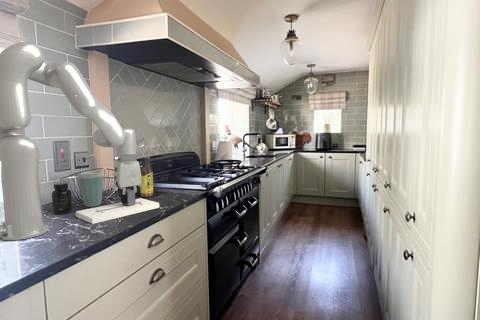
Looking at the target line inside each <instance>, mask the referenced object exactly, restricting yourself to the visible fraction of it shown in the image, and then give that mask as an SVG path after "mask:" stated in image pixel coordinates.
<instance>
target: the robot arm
mask: <svg viewBox="0 0 480 320" xmlns="http://www.w3.org/2000/svg"><path fill="white" fill-rule="evenodd" d="M29 80H30V81H33V82H35V83H39V84H41V85H44V86H47V87H51V88H54V89H55V88H56V89H60V91H61V92H62V93H63V95H64V96H65V98H66V100H67V101H68V103H69V104H70V105H71V107H72V109H73V110H74V111H75V112H77V113H78V114H79V115H81V116H83V117H85V118H87V119H88V120H90V122H92V123H93V124H94V125H95V126H96V127H97V128H98V129H96V130H95V131H94V132H93V134H92V141H93V142H94V144H95V145H97V146H99V147H101V148H112V149H113V148H116V151H115V152H116V155H115V156H114V157H113V161H116V162H115V163H114V171H113V184H112V187H111V189H112V190H114V191H117V192H118V194H120V202H122V203H123V204H127V194H125V192H126V189H127V188H129V189H131V190H135V199H137V197H136V196H137V195H136V193H137V191H138V189H140V186H141V185H143V183H142V178H141V170H140V169H141V167H140V163H139V161H137V160H138V159H137V144H136V143H137V141H136V137H137V135H136V131H135V129H134V128H130V127H129V128H128V127H127V128H124V127H122V125H121V124H120V123H119V121H118V119H117V118H116V116H115V115H114V114H113V113H112V112H111V111H110V110H109V109H108V108H107V107H106V106H105V105H104V104H103V103H102V102H100V100H99V99H98V98H97V97H96V95H95V94H94V92H93V90H92V89H91V87H90V86H89V84H88V82H87V81H86V80H85V78H84V76H83V74H82V72H81V71H80V70H79V68H78V67H77V66H76V65H75V64H74V63H73V62H70V61H68V60H60V61H57V62H51V61H48V60H46V59H45V54H44V52H43V50H42V49H41V47H39V45H38V44H35V43H33V42H30V41H20V42H16V43H13V44H11V45H9V46H8V47H6V48H4V49H3V50H2V51H1V52H0V162H1V164H0V165H1V168H0V178H1V189H2V190H1V191H2V199H3V201H2V202H3V209H4V211H3V212H4V221H2V223H1V224H0V239H1V240H4V241H18V240H27V239H31V238H36V237H38V236H42V235H43V234H46V233H47V232H48V231H49V229H50V228H49V225H48V224H44V223H43V212H42V211H43V210H42V199H41V198H42V197H41V196H42V195H41V194H42V193H41V186H40V185H41V184H40V156H41V155H40V153H41V152H40V148H39V146H38V144H37V142H36V141H35V140H34V139H32V138H31V137H29V136H26V131H25V129H26V128H27V127H28V126H30V124H31V122H32V111H31V106H30V105H31V104H30V100H29V99H30V98H29V91H28V81H29Z"/></svg>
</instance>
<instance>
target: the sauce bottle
mask: <svg viewBox="0 0 480 320" xmlns="http://www.w3.org/2000/svg"><path fill="white" fill-rule="evenodd" d="M141 162H142V163H141V164H142V165H141V167H140V170H141V178H142V183H143V185H141V186H140V187H139V191H140V192H139V193H140V198H149V197H152V196H153V195H154V172H153V169H152V167H151V157H150V156H141Z"/></svg>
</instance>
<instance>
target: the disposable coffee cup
mask: <svg viewBox="0 0 480 320" xmlns="http://www.w3.org/2000/svg"><path fill="white" fill-rule="evenodd" d="M104 177H105V173H104V172H103V170H97V169H96V170H89V171H84V172H80V173H79V174H78V175H77V181H78V183H79V184H78V185H79V189H80V193H81V197H82V201H83V205H84V206H85V207H88V208H89V207H91V208H92V207H99V206H101V204H102V199H103V190H104V189H103V187H104Z"/></svg>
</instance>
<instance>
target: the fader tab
mask: <svg viewBox="0 0 480 320" xmlns="http://www.w3.org/2000/svg"><path fill="white" fill-rule="evenodd" d="M125 194H127V204H124V205H127V206H131V205H135V190H131V189H130V188H126V192H125ZM122 204H123V203H122Z"/></svg>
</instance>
